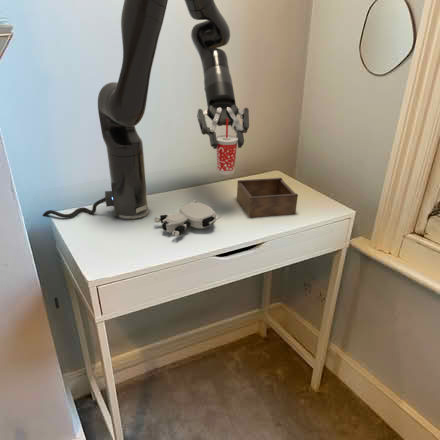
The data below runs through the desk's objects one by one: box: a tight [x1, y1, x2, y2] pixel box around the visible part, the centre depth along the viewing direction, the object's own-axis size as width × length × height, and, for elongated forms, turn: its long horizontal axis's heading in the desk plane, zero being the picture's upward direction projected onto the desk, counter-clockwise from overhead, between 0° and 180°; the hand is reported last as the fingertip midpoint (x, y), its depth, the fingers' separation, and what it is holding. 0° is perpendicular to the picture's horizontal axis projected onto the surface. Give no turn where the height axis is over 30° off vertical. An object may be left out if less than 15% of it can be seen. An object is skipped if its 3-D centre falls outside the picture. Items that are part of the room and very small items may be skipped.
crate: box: [236, 177, 299, 218], centre depth 127 cm, size 14×14×6 cm
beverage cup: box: [215, 118, 238, 176], centre depth 115 cm, size 6×6×14 cm
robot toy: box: [153, 199, 223, 237], centre depth 115 cm, size 12×4×15 cm
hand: (228, 146), depth 114 cm, fingers closed on beverage cup, 6 cm apart
